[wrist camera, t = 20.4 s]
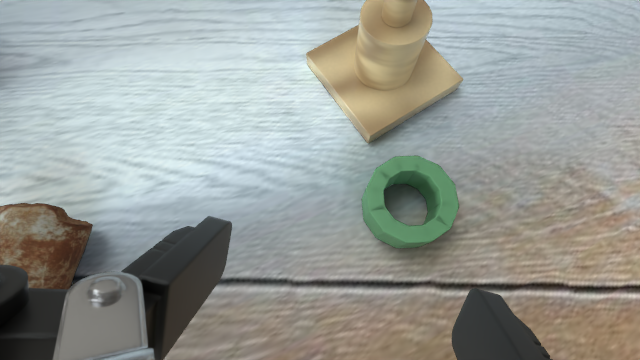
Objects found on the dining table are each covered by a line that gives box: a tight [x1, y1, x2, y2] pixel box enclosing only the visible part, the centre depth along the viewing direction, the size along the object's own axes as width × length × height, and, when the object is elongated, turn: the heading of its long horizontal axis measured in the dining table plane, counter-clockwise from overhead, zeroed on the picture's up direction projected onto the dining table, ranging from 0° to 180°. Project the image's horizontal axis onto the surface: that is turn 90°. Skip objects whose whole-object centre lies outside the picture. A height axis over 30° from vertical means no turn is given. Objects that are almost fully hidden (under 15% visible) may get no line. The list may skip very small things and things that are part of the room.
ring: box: [362, 156, 459, 248], centre depth 24 cm, size 6×6×3 cm
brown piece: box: [0, 203, 93, 289], centre depth 20 cm, size 6×19×6 cm, turn 171°
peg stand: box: [306, 0, 463, 143], centre depth 24 cm, size 10×10×11 cm
